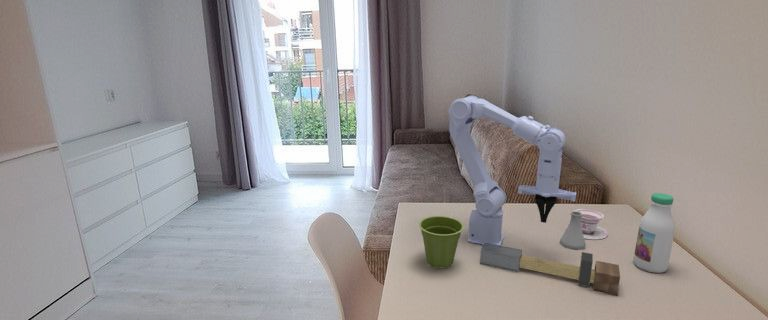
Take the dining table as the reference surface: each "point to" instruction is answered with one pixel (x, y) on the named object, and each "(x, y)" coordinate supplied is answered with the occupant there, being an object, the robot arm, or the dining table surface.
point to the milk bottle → (655, 235)
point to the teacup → (591, 224)
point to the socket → (606, 278)
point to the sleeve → (500, 257)
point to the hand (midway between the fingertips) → (543, 221)
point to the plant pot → (440, 239)
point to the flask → (574, 233)
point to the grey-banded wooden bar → (563, 268)
